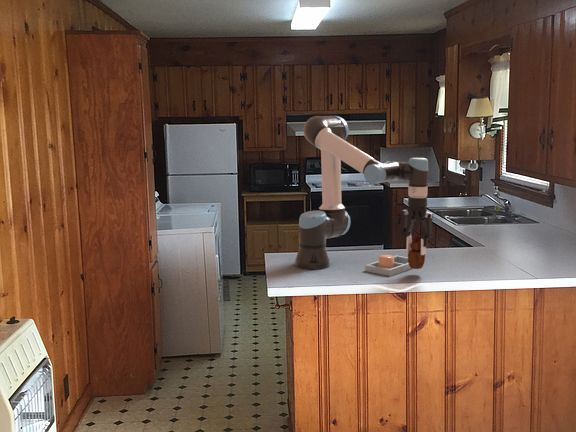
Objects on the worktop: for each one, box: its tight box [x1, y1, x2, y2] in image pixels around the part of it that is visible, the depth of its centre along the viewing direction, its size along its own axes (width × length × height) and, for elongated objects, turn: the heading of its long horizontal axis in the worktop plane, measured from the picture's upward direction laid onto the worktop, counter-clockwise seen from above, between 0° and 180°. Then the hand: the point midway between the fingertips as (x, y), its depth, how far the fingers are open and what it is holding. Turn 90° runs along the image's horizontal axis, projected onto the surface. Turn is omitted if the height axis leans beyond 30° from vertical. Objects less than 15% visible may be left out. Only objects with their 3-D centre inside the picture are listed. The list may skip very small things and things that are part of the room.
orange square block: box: [378, 254, 395, 269], centre depth 268 cm, size 6×6×6 cm
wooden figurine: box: [407, 231, 426, 270], centre depth 261 cm, size 7×6×15 cm
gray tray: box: [364, 255, 413, 277], centre depth 273 cm, size 12×24×4 cm, turn 138°
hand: (416, 253), depth 261 cm, fingers closed on wooden figurine, 6 cm apart
